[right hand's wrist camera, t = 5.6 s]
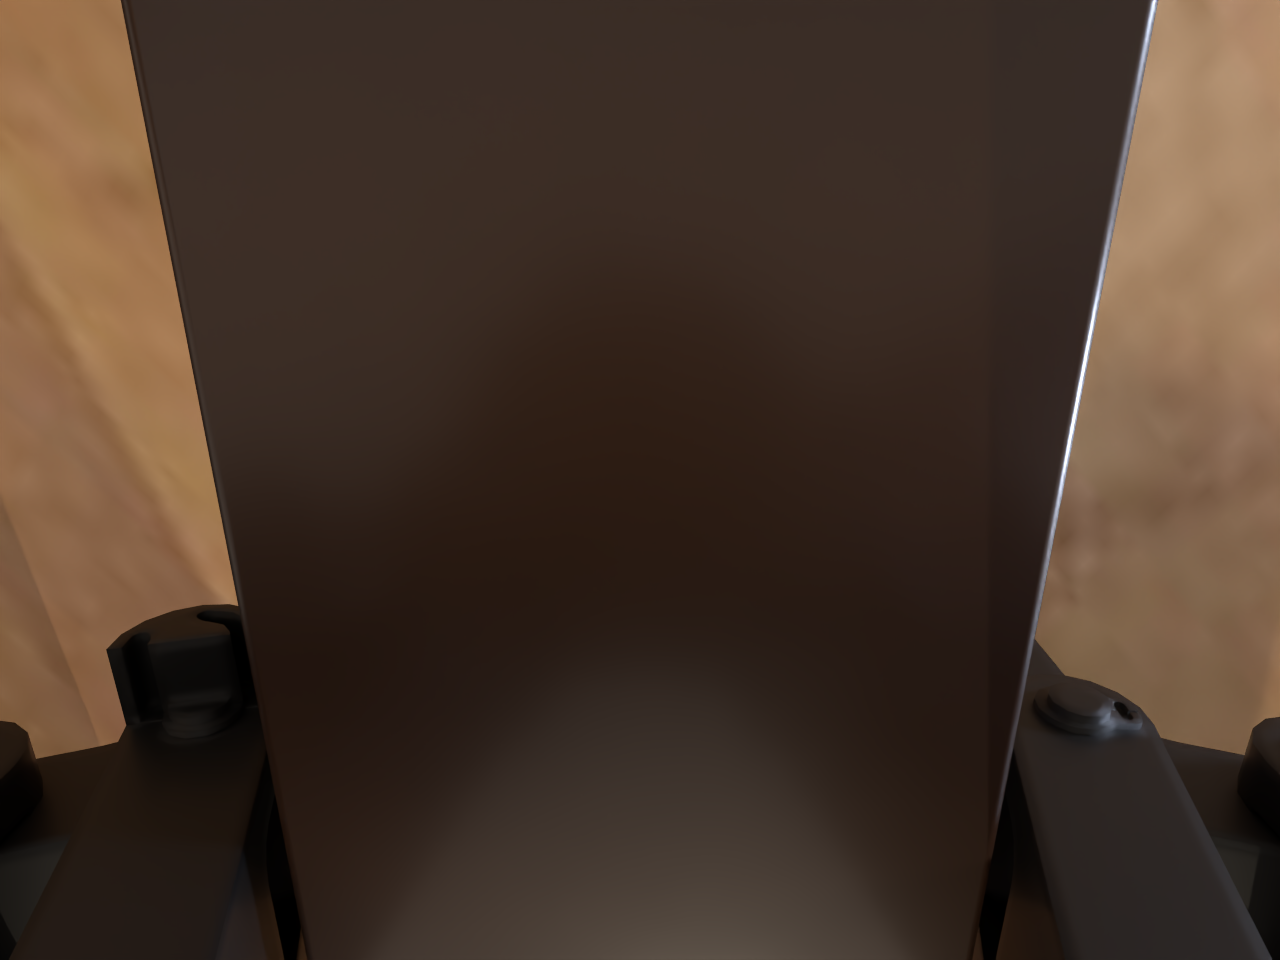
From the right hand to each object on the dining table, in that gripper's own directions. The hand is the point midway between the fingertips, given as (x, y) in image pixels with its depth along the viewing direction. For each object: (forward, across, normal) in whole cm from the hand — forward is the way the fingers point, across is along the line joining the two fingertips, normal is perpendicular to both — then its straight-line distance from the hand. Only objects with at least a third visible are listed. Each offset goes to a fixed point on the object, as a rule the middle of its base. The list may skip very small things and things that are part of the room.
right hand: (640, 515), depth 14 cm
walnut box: (0, 0, -9) cm, 9 cm away
